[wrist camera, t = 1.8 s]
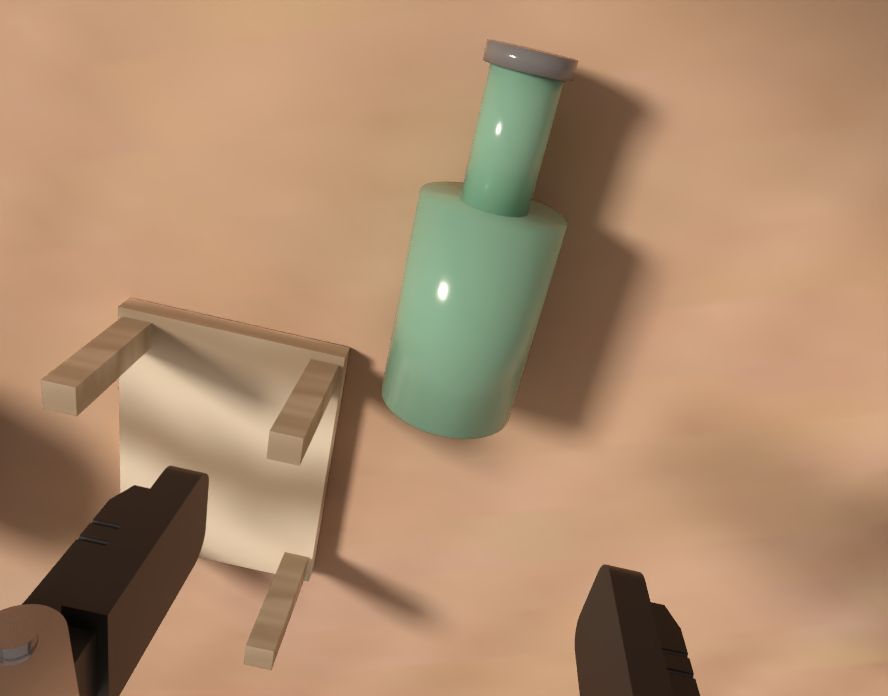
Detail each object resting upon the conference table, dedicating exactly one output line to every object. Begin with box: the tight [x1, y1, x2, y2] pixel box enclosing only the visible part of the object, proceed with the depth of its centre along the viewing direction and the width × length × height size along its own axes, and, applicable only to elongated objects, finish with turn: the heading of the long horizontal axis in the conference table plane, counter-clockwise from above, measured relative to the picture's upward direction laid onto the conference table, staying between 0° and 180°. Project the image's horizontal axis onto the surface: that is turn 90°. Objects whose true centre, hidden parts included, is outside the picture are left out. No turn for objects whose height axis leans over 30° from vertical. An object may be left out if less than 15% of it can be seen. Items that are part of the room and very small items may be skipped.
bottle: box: [381, 39, 578, 439], centre depth 24 cm, size 13×5×5 cm, turn 168°
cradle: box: [41, 298, 350, 670], centre depth 29 cm, size 13×10×6 cm
